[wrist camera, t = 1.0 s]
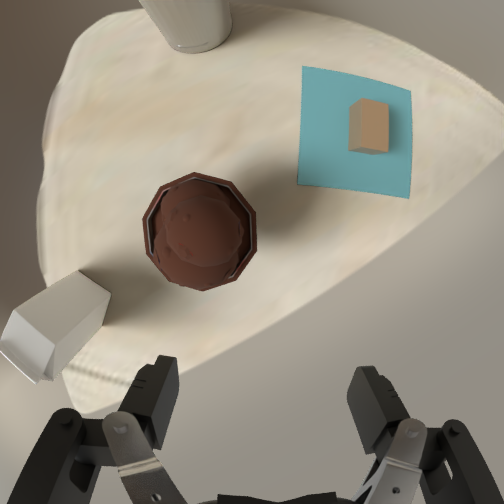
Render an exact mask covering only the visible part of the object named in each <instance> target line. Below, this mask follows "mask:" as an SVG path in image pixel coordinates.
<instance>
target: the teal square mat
mask: <svg viewBox="0 0 504 504" xmlns="http://www.w3.org/2000/svg"><path fill="white" fill-rule="evenodd" d="M411 163H412V109H411V91H409V90H406V89H403V88H400V87H397V86H393V85H390V84H387V83H383V82H380V81H376V80H372V79H368V78H364V77H360V76H356V75H352V74H347V73H342V72H337V71H332V70H326V69H320V68H314V67H307V66H302V98H301V125H300V146H299V164H298V180H297V184H299V185H310V186H320V187H329V188H338V189H346V190H354V191H362V192H369V193H376V194H383V195H389V196H395V197H401V198H407V199H409V193H410V181H411Z"/></svg>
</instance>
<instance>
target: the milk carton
mask: <svg viewBox="0 0 504 504" xmlns="http://www.w3.org/2000/svg"><path fill="white" fill-rule="evenodd" d="M110 297H111V293H110V292H108V291H107V290H105V289H104V288H102V287H101V286H99V285H98V284H96V283H95V282H93V281H92V280H90V279H89V278H87V277H86V276H85V275H83V274H82V273H80V272H79V271H75V272H73V273H71V274H70V275H68V276H66V277H65V278H63V279H61V280H60V281H58V282H56V283H55V284H53V285H51V286H50V287H48V288H47V289H45V290H43V291H42V292H40V293H39V294H37V295H35V296H34V297H32V298H31V299H29V300H28V301H26V302H25V303H23V304H22V305H20V306H19V307H17V308H16V309H14V310H13V312H12V314H11V316H10V318H9V321H8V323H7V325H6V327H5V330H4V332H3V335H2V337H1V339H0V352H1V353H2V354H3V355H4V356H5V357H6V358H7V359H8V360H9V361H10V362H11V363H12V364H13V365H14V366H16V367H17V368H18V369H19V370H20V371H21V372H22V373H24V375H25V376H27V377H28V378H29V379H30V380H31V381H33V382H34V383H35V384H37V383H38V382H39V381H40V380H41V379H43V380H48V381H53V380H54V379H55V378H56V377H57V376H58V374H60V372H61V371H62V370H63V369H64V368H65V367H66V365H67V364H68V363H69V362H70V361H71V360H72V359H73V358H74V356H75V355H76V354H77V353H78V352H79V351H80V350H81V349H82V348H83V347H84V345H85V344H86V343H87V342H88V341H89V340H90V339H91V338H92V337H93V336H94V335H95V334H96V332H97V331H98V330H99V329H100V328H101V327H102V323H103V320H104V316H105V313H106V310H107V307H108V303H109V300H110Z"/></svg>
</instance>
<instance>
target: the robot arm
mask: <svg viewBox="0 0 504 504" xmlns="http://www.w3.org/2000/svg"><path fill="white" fill-rule="evenodd" d="M139 2H140V3H141V5H142V6H143V7H144V9H145V10H146V12H147V13H148V14H149V16H150V17H151V19H152V20H153V21H154V23H155V24H156V26H157V27H158V29H159V30H160V32H161V33H162V35H163V36H164V37H165V39H166V40H167V42H168V43H169V44H170V46H171V47H172V48H174V49H175V50H177V51H180V52H184V53H200V52H204V51H208V50H210V49H212V48H215V47H216V46H218V45H219V44H221V43H222V42H223V41H224V40H225V39H226V38H227V37H228V36H229V34H230V32H231V29H232V18H231V12H230V5H229V0H139ZM178 392H179V376H178V366H177V358H176V357H170V356H164V355H159V356H158V358H157V360H156V362H155V364H154V365H150V364H146V365H145V366H144V367H142V368H141V369H140V370H139V371H138V373H137V375H136V377H135V380H133V382H132V384H131V386H130V388H129V390H128V392H127V394H126V396H125V398H124V399H123V401H122V403H121V405H120V407H119V409H118V411H117V412H112V413H110V414H108V415H107V416H106V417H105V418H104V419H85V418H82V417H81V415H80V414H79V413H78V412H77V411H76V410H74V409H71V408H62V409H59V410H57V411H56V412H55V413H53V415H52V417H51V418H50V420H49V422H48V423H47V425H46V427H45V428H44V430H43V432H42V434H41V435H40V438H39V439H38V441H37V443H36V444H35V446H34V448H33V450H32V452H31V454H30V456H29V458H28V460H27V462H26V464H25V465H24V467H23V470H22V472H21V474H20V476H19V478H18V480H17V482H16V484H15V486H14V489H13V491H12V493H11V495H10V498H9V500H8V502H7V504H89V503H90V499H91V496H92V493H93V490H94V487H95V484H96V481H97V478H98V475H99V472H100V469H101V466H117V468H118V473H119V476H120V478H121V480H122V483H123V485H124V487H125V489H126V491H127V493H128V495H129V497H130V499H131V501H132V503H133V504H187V502H186V501H185V499H184V498H183V496H182V495H181V494H180V492H179V491H178V489H177V488H176V486H175V485H174V483H173V481H172V480H171V479H170V477H169V475H168V474H167V472H166V470H165V469H164V467H163V466H162V464H161V462H160V461H159V460H158V459H157V458H156V456H155V454H154V453H153V449H158V450H161V448H162V445H163V442H164V438H165V435H166V432H167V428H168V425H169V422H170V418H171V415H172V412H173V409H174V406H175V403H176V399H177V396H178ZM347 402H348V405H349V408H350V410H351V413H352V416H353V419H354V422H355V424H356V427H357V430H358V433H359V436H360V439H361V442H362V444H363V448H364V450H365V454H371V453H375V454H376V458H375V459H374V461H373V463H372V465H371V467H370V469H369V471H368V473H367V475H366V477H365V478H364V480H363V482H362V484H361V486H360V488H359V489H358V491H357V492H356V494H355V495H354V496H353V498H352V499H351V500H348V499H344V498H337V497H336V492H329V493H321V494H311V495H306V496H302V497H299V498H296V499H292V500H288V501H284V502H272V501H267V500H262V499H257V498H252V497H248V496H232V495H221V494H218V497H217V500H213V501H207V502H202V503H199V504H411V503H412V500H413V498H414V495H415V492H416V489H417V486H418V484H420V487H421V490H422V492H423V496H424V499H425V502H426V504H504V501H503V498H502V496H501V494H500V491H499V489H498V487H497V485H496V483H495V480H494V478H493V476H492V474H491V472H490V470H489V468H488V466H487V464H486V462H485V460H484V458H483V456H482V455H481V453H480V451H479V449H478V447H477V445H476V444H475V442H474V440H473V438H472V436H471V435H470V433H469V431H468V429H467V428H466V426H465V425H464V424H463V423H462V422H461V421H459V420H454V419H452V420H448V421H446V422H445V423H444V425H443V426H442V428H426V426H425V424H424V423H423V422H421V421H420V420H417V419H414V418H410V416H409V414H408V412H407V410H406V408H405V407H404V405H403V403H402V401H401V399H400V398H399V397H398V394H397V392H396V391H395V389H394V387H393V386H392V384H391V382H390V381H389V380H388V379H387V378H385V377H384V376H383V375H379V374H378V372H377V370H376V368H375V367H374V366H360V367H357V368H356V370H355V373H354V376H353V378H352V381H351V383H350V386H349V389H348V392H347ZM446 460H447V462H448V464H449V466H450V468H451V471H452V473H453V477H452V480H451V477H450V475H449V473H448V470H447V468H446V466H445V463H444V462H445V461H446Z"/></svg>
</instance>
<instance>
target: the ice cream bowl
mask: <svg viewBox="0 0 504 504" xmlns="http://www.w3.org/2000/svg"><path fill="white" fill-rule="evenodd" d="M142 220H143V230H144V240H145V248H146V254H147V256H148V257H149V258H150V259H151V261H152V262H153V263H154V264H155V265H156V267H157V268H158V269H159V270H160V271H161V273H162V274H163V275H164V276H165V277H166V279H167V280H168V281H169V282H173V283H176V284H179V285H180V286H186V287H189V288H192V289H196V290H199V291H206V290H209V289H212V288H215V287H218V286H221V285H224V284H227V283H230V282H233V281H236V280H237V278H238V277H239V276H240V274H241V273H242V271H243V270H244V269H245V267H246V266H247V264H248V263H249V261H250V260H251V259H252V257H253V256H254V254H255V253H256V252H257V233H256V212H255V211H254V210H253V208H252V207H251V206H250V204H249V203H248V202H247V201H246V199H245V198H244V197H243V196H242V194H241V193H240V192H239V191H238V189H237V188H236V187H235V186H234V184H233V183H232V182H231V181H227V180H223V179H219V178H216V177H212V176H208V175H204V174H200V173H196V172H193V173H191V174H188V175H186V176H183V177H181V178H179V179H177V180H174V181H172V182H170V183H167V184H165V185H163V186H161V187H160V188H159V189H158V191H157V193H156V195H155V196H154V198H153V200H152V202H151V204H150V205H149V207H148V209H147V211H146V213H145V214H144V216H143V218H142Z"/></svg>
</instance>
